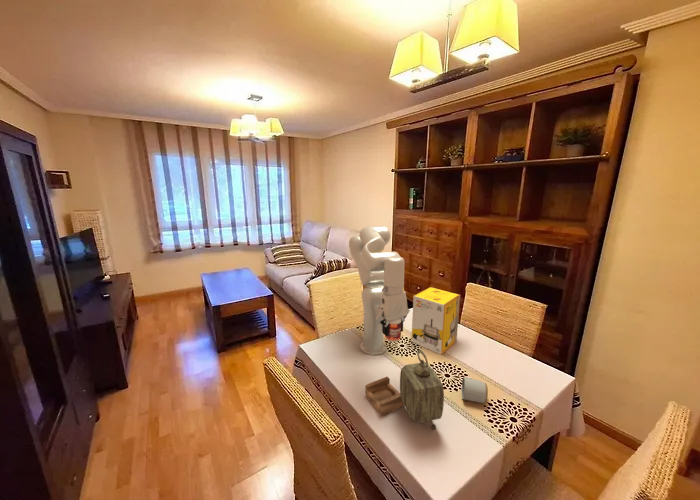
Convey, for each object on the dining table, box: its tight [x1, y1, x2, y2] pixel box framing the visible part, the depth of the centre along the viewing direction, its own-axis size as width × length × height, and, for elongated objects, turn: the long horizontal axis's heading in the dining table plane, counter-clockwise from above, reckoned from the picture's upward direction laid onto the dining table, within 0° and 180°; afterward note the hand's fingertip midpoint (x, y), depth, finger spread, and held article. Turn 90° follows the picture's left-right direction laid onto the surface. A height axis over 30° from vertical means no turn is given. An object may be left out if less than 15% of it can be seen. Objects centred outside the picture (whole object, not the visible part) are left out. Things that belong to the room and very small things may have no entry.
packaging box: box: [411, 286, 461, 355], centre depth 140 cm, size 16×16×25 cm
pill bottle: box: [384, 318, 402, 343], centre depth 109 cm, size 6×6×11 cm
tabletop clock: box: [399, 349, 445, 431], centre depth 93 cm, size 14×9×25 cm, turn 12°
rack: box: [364, 376, 405, 417], centre depth 103 cm, size 11×10×5 cm
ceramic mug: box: [461, 376, 489, 404], centre depth 105 cm, size 11×8×8 cm
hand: (392, 332), depth 110 cm, fingers closed on pill bottle, 6 cm apart
